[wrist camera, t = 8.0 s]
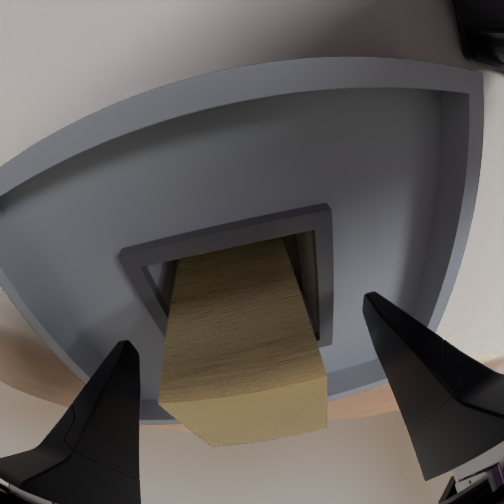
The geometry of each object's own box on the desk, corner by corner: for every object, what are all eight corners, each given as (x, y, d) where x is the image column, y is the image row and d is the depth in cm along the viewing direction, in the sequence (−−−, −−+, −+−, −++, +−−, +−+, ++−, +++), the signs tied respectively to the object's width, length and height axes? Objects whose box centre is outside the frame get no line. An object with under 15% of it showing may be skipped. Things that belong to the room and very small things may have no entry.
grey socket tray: (407, 64, 9) (482, 72, 5) (389, 321, 18) (416, 371, 14) (17, 160, 9) (-44, 203, 5) (142, 369, 18) (134, 424, 14)
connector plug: (272, 210, 12) (326, 375, 6) (286, 279, 14) (326, 427, 8) (184, 232, 12) (157, 403, 6) (211, 296, 15) (212, 447, 8)
